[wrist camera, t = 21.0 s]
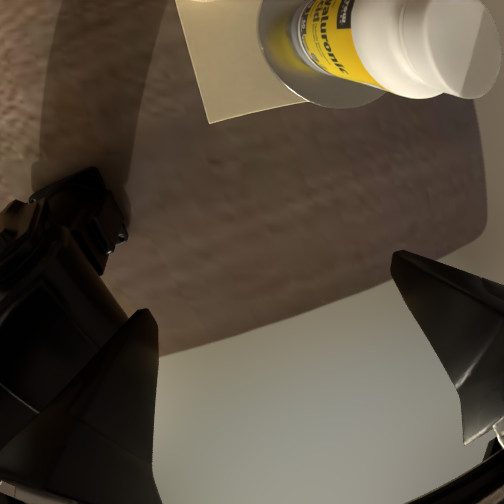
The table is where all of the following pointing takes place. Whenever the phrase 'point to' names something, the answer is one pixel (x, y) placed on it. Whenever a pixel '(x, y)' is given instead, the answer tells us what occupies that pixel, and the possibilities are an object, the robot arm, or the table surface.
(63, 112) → the table surface
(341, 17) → the supplement bottle
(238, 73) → the scale
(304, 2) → the scale pan
